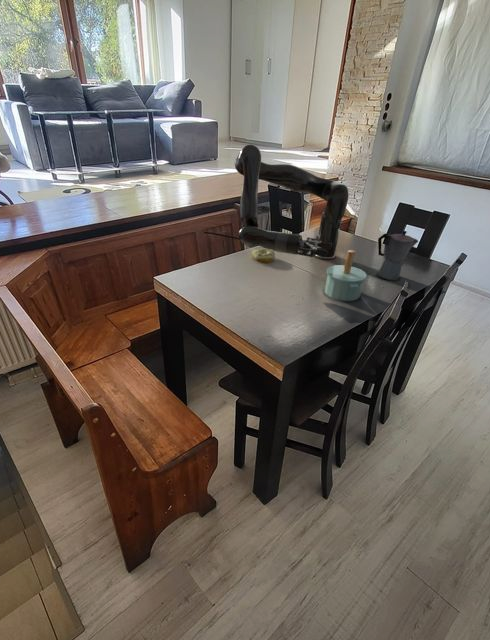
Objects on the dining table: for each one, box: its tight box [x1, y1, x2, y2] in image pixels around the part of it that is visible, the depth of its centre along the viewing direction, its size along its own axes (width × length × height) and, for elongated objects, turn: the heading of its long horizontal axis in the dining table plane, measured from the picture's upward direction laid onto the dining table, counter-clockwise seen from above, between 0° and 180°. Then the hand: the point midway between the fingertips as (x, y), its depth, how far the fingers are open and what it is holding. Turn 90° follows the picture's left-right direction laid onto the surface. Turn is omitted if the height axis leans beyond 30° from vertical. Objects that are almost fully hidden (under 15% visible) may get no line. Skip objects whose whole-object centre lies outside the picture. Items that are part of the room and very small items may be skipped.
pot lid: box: [326, 249, 367, 282], centre depth 136 cm, size 15×15×10 cm
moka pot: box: [377, 230, 419, 281], centre depth 152 cm, size 10×15×20 cm, turn 78°
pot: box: [324, 274, 365, 302], centre depth 140 cm, size 14×19×8 cm
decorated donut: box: [252, 248, 276, 264], centre depth 170 cm, size 10×11×4 cm
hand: (329, 249), depth 136 cm, fingers open, 8 cm apart
